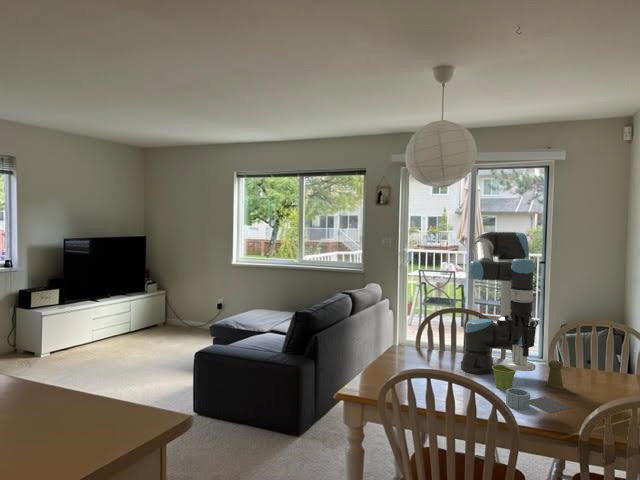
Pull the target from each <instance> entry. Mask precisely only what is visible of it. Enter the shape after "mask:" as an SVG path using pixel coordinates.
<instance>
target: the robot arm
mask: <svg viewBox="0 0 640 480" xmlns="http://www.w3.org/2000/svg"><path fill="white" fill-rule="evenodd" d="M471 252H472V254H473V255H474V256H473V257H474V260H471V261H470V263H469V277H470V279H472V280H478V281H499V282H500V281H501V282H500V316H499V317H498V318H497V319H496V323H495V322H493V320H492V319H490V318H475V319H470V320H468V321H467V322H466V323H465V330H464V332H465V337H464V338H465V341H464V342H465V343H464V353H463V357H462V360H461V361H460V368H461V370H462V371H464V372H467V373H470V374H476V375H489V374H494V372H493V369H492V366H494V365H495V363H494V359H493V357H492V356H493V355H492V349H494V350H504V351H508V350H509V351H510V353H512V354H511V360H512V362H513V363H514V362H515V348H516V344H521V345H522V346H521V349H520V365H527V362H528V357H529V353H530V348H533V347H535V342H536V341H535V340H536V332H537V327H538V324H539V321H538V320H534V319H533V317H532V311H533V302H532V301H533V297H534V294H533V293H534V290H533V289H534V287H533V286H534V271H535V268H534V265H535V264H534V261H533V260H532V259H527V258H529V256H530V247H529V241H528V237H527V235H526V234H525V233H524V232H516V231H513V232H512V231H511V232H510V231H489V232H484V233H482V234H479V235H478V236H477V237H476V238H475V239H473V241H472V244H471ZM495 257H497V260H498V261H494V258H495Z"/></svg>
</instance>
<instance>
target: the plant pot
mask: <svg viewBox="0 0 640 480" xmlns="http://www.w3.org/2000/svg"><path fill="white" fill-rule="evenodd" d="M492 369H493V372H494V373H493V374H494V383H495V388H496V389H498V390H500V391H506V390H507V389H510V388H513V384H514V377H515V374H516V372H517V370H512V369H509V368H506V367H505V366H504V364H494V366H492Z"/></svg>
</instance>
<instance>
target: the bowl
mask: <svg viewBox="0 0 640 480" xmlns="http://www.w3.org/2000/svg"><path fill="white" fill-rule="evenodd" d="M530 400H531V393H530V392H529V391H528V390H525V389H522V388H517V387H512V388H510V389H507V390H505V404H507V405H506V406H507V407H509V408H510V409H515V410H522V411H526V410H528V409H530V406H531V405H530Z"/></svg>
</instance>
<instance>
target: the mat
mask: <svg viewBox="0 0 640 480" xmlns="http://www.w3.org/2000/svg"><path fill="white" fill-rule="evenodd" d="M530 406H532V407H535V408H537V409H540V410H542V411H543V412H546V413H549V414H552V413H556V412H561V411H565V410H568V409H573V407H571V406H569V405H566V404H564V403H562V402H559V401H556V400H554V399H551V398H549V397H546V396H541V397H536V398H532V399H531V398H530Z"/></svg>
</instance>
